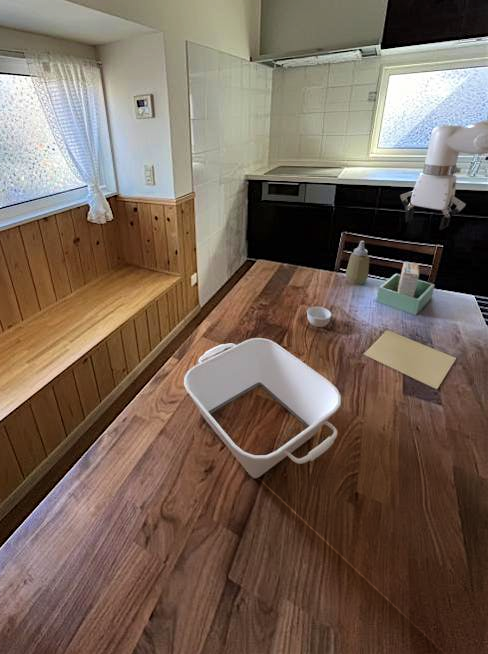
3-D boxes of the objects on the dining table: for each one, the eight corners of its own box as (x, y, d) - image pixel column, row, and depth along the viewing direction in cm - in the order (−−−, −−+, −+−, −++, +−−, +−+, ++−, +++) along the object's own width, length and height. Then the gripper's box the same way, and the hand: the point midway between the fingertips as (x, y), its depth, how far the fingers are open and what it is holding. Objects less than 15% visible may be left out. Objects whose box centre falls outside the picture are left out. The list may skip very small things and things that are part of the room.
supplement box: (395, 293, 124) (403, 261, 119) (411, 296, 122) (419, 264, 117) (395, 304, 118) (402, 271, 113) (411, 307, 116) (419, 274, 110)
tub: (360, 453, 71) (370, 409, 65) (266, 536, 58) (269, 490, 53) (251, 362, 97) (252, 325, 92) (171, 405, 85) (167, 366, 80)
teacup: (337, 334, 106) (339, 322, 104) (304, 333, 108) (305, 321, 106) (330, 316, 115) (331, 304, 113) (299, 315, 117) (300, 303, 115)
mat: (455, 360, 93) (456, 358, 92) (436, 392, 84) (437, 389, 83) (386, 332, 106) (386, 329, 105) (362, 356, 96) (363, 354, 96)
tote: (430, 300, 120) (434, 284, 117) (415, 317, 112) (419, 300, 109) (392, 288, 129) (395, 273, 126) (375, 302, 121) (378, 287, 118)
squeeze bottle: (350, 276, 139) (356, 235, 132) (370, 282, 134) (378, 240, 126) (340, 283, 135) (346, 241, 127) (360, 290, 129) (368, 247, 122)
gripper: (478, 171, 95) (462, 228, 102) (412, 165, 108) (401, 216, 115) (469, 176, 91) (452, 234, 98) (401, 169, 104) (390, 221, 111)
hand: (424, 224), depth 107 cm, fingers open, 9 cm apart
